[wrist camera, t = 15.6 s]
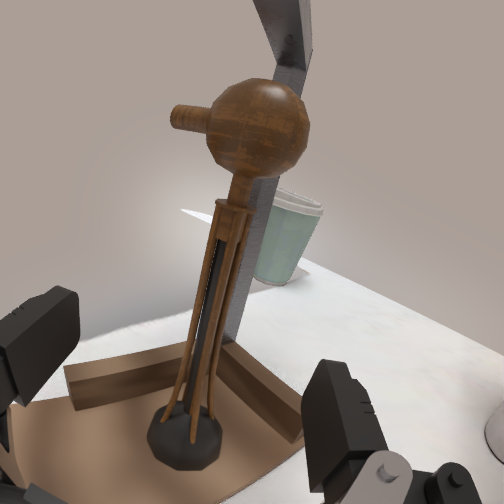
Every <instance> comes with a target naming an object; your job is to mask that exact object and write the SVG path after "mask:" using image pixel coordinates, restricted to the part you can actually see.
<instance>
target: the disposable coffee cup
mask: <svg viewBox="0 0 504 504" xmlns="http://www.w3.org/2000/svg"><path fill="white" fill-rule="evenodd" d="M321 206H322V205H321V204H319V203H318V202H316V201H314V200H311V199H309V198H307V197H304V196H301V195H299V194H296V193H294V192H291V191H288V190H285V189H282V188H279V187H277V189H276V193H275V196H274V200H273V204H272V208H271V211H270V215H269V219H268V223H267V226H266V230H265V234H264V237H263V241H262V245H261V248H260V252H259V256H258V259H257V263H256V267H255V271H254V274H253V277H254V278H255V279H256V280H258V281H260V282H262V283H265V284H268V285H273V286H283V285H284V284H285V283H286V282H287V281H288V280H289V279H290V277H291V275H292V273H293V271H294V269H295V267H296V265H297V263H298V261H299V259H300V258H301V255H302V254H303V251H304V249H305V247H306V245H307V243H308V241H309V239H310V237H311V235H312V233H313V231H314V229H315V227H316V225H317V223H318V221H319V219H320V217H321V216H322V214H323V208H322V207H321Z"/></svg>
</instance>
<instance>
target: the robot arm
mask: <svg viewBox="0 0 504 504" xmlns="http://www.w3.org/2000/svg"><path fill="white" fill-rule="evenodd" d="M79 338H80V317H79V298H78V294H77V293H76V292H74V291H71V290H68V289H66V288H63V287H60V286H55V287H53V288H52V289H50V290H49V291H48V292H46V293H45V294H43V295H39V296H36V297H33V298H30V299H28V300H27V301H25V302H24V303H23V304H21V305H20V306H19V308H16V309H15V310H13V311H12V313H11V314H10V313H9V314H8V315H7V316H5V317H4V318H3V319H1V320H0V504H68V503H66V502H65V501H63V500H61V499H59V498H57V497H55V496H54V495H52V494H50V493H48V492H47V491H45V490H43V489H42V488H40V487H38V486H37V485H35V484H33V483H32V482H31V483H30V485H29V487H28V489H26V485H25V482H24V479H23V476H22V474H21V471H20V469H19V467H18V465H17V461H16V457H15V449H14V441H13V430H12V415H11V408H10V406H9V405H10V404H11V403H12V402H13V400H14V401H15V402H17V403H18V404H20V405H21V406H23V407H25V408H26V407H27V405H28V404H29V403H30V401H31V400H32V399H33V398H34V396H35V395H36V394H37V393H38V391H39V390H40V389H41V388H42V387H43V385H44V384H45V383H46V382H47V380H48V379H49V378H50V377H51V376H52V374H53V373H54V372H55V371H56V370H57V369H58V367H59V366H60V365H61V364H62V363H63V362H64V360H65V359H66V358H67V357H68V356H69V355H70V353H71V352H72V351H73V350H74V349H75V348H76V346H77V344H78V342H79ZM374 413H375V411H374V409H373V406H372V405H371V401H370V398H369V396H368V393H367V391H366V389H365V388H364V387H363V386H362V385H361V384H360V383H359V381H358V380H357V379H352V378H351V375H350V372H349V370H348V367H347V365H346V363H345V362H339V361H332V360H326V359H322V360H321V361H320V362H319V363H318V365H317V367H316V369H315V371H314V373H313V376H312V378H311V380H310V382H309V384H308V386H307V388H306V389H305V391H304V394H303V396H302V400H301V418H302V426H303V434H304V442H305V451H306V459H307V468H308V477H309V487H310V493H324V499H325V500H324V501H323V502H322V503H321V504H482V502H481V500H480V497H479V494H478V492H477V489H476V487H475V484H474V482H473V480H472V477H471V475H470V473H469V472H468V470H467V469H466V468H464V467H463V466H462V465H460V464H458V463H453V462H449V463H445V464H443V465H442V466H441V467H440V468H439V469H438V470H437V471H436V472H435V473H430V472H423V471H417V470H412V469H411V466H410V464H409V463H408V461H407V460H406V459H405V458H404V457H402V456H401V455H399V454H398V453H395V452H392V451H389V449H388V447H387V444H386V441H385V438H384V435H383V433H382V430H381V427H380V425H379V422H378V419H377V417H376V415H374ZM485 433H486V438H487V442H488V444H489V446H490V448H491V449H492V451H493V453H494V454H495V455H496V456H497V457H498V458H499V459H500V460H501V461H502V462H503V463H504V402H503V403H502V405H501V406H500V407H499V409H498V410H497V411H496V412H495V414H494V415H493V416H492V417H491V419H490V420H489V421H488V423H487V425H486V429H485Z"/></svg>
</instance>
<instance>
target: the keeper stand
mask: <svg viewBox="0 0 504 504" xmlns="http://www.w3.org/2000/svg"><path fill="white" fill-rule="evenodd" d="M253 2H254V5H255V7H256V10H257V12H258V14H259V17H260V19H261V22H262V25H263V27H264V30H265V32H266V35H267V38H268V40H269V43H270V46H271V48H272V51H273V54H274V57H275V59H276V62H277V66H276V69H275V73H274V76H273V80H272V81H276V82H279V83H282V84H285V85H286V86H288V87H290V88H291V89H292V91H293V92H294V93H295V94H296V95H297V96H298V97H299V98H301V94H302V90H303V86H304V82H305V79H306V75H307V71H308V67H309V63H310V59H311V55H312V51H313V49H312V28H311V8H310V0H253ZM279 178H280V176H278V177H277V178H267V179H254V182H253V186H252V190H251V193H250V197H249V201H248V205H251V206H253V207H255V208H257V212H256V214H253V217H252V221H251V225H250V229H249V232H248V236H247V240H246V244H245V248H244V252H243V255H242V259H241V263H240V267H239V271H238V275H237V278H236V282H235V286H234V290H233V294H232V298H231V302H230V306H229V311H228V315H227V319H226V323H225V328H224V332H223V336H222V340H221V346H220V351H219V357H218V362H217V368H216V374H215V384H214V394H213V412H214V416H215V417H216V419H217V420H218V422H219V423H220V425H221V427H222V430H223V435H222V443H221V449H220V455H219V458H218V459H217V460H216V461H214V462H213V463H212V464H210V465H209V466H207V467H206V468H205V469H203V470H202V471H176V470H174V469H173V468H171V467H169V466H167V465H166V464H164V463H162V462H161V461H159V460H157V459H156V458H155V457H154V455H153V453H152V450H151V448H150V446H149V444H148V442H147V432H148V429H149V427H150V424H151V421H152V419H153V416H154V414H155V412H156V411H157V410H158V409H159V408H161V407H163V406H165V405H167V404H168V403H169V401H170V399H171V396H172V393H173V390H174V387H175V383H176V380H177V377H178V374H179V371H180V366H181V362H182V358H183V354H184V350H185V346H186V342H187V341H185V342H181V343H177V344H172V345H168V346H164V347H159V348H155V349H150V350H146V351H141V352H136V353H132V354H127V355H122V356H117V357H112V358H106V359H101V360H96V361H90V362H84V363H78V364H72V365H66V366H63V368H64V373H65V378H66V383H67V387H68V392H69V396H65V397H59V398H54V399H47V400H41V401H34V402H30V403H29V404H28V405H27V407H26V408H25V407H23V406H21V405H20V404H10V405H9V406H10V408H11V415H12V430H13V441H14V449H15V457H16V461H17V465H18V467H19V469H20V471H21V474H22V476H23V479H24V482H25V485H26V489H28V487H29V485H30V483H31V482H32V483H33V484H35V485H37V486H38V487H40V488H42V489H43V490H45V491H47V492H48V493H50V494H52V495H54V496H55V497H57V498H59V499H61V500H63V501H65V502H66V503H68V504H219V503H221V502H222V501H224V500H226V499H228V498H229V497H231V496H233V495H234V494H236V493H238V492H239V491H241V490H243V489H244V488H246V487H248V486H249V485H251V484H252V483H254V482H255V481H257V480H258V479H260V478H261V477H263V476H264V475H266V474H267V473H269V472H270V471H272V470H273V469H275V468H276V467H277V466H279V465H280V464H282V463H283V462H284V461H286V460H287V459H288V458H290V457H291V456H292V455H294V454H295V453H296V452H298V451H299V450H300V449H301V448H303V447H304V446H305V442H304V434H303V426H302V418H301V400H302V396H301V395H299V394H298V393H297V392H295V391H294V390H293V389H292V388H290V387H289V386H288V385H287V384H285V383H284V382H283V381H282V380H280V379H279V378H278V377H277V376H275V375H274V374H273V373H272V372H270V371H269V370H268V369H267V368H266V367H264V366H263V365H262V364H261V363H260V362H258V361H257V360H256V359H255V358H254V357H252V356H251V355H250V354H249V353H248V352H247V351H245V350H244V349H243V348H242V347H241V346H240V345H238V344H237V343H236V342H235V340H236V336H237V332H238V329H239V325H240V322H241V318H242V314H243V311H244V307H245V303H246V300H247V296H248V292H249V288H250V285H251V282H252V278H253V274H254V271H255V267H256V263H257V259H258V256H259V252H260V248H261V245H262V241H263V237H264V234H265V230H266V226H267V223H268V219H269V215H270V211H271V208H272V204H273V200H274V196H275V193H276V189H277V185H278V181H279ZM195 342H196V339H195V341H194V345H193V349H192V353H191V356H190V360H189V364H188V367H187V371H186V375H185V378H184V381H183V384H182V387H181V390H180V393H179V396H178V399H177V401H178V400H182V397H183V393H184V389H185V386H186V382H187V377H188V373H189V369H190V365H191V360H192V356H193V351H194V347H195ZM213 343H214V341H213ZM212 349H213V345H212ZM211 356H212V350H211V354H210V358H209V362H208V367H207V372H206V377H205V382H204V387H203V393H202V399H201V405H202V406H204V407H206V408H207V390H208V376H209V368H210V362H211Z"/></svg>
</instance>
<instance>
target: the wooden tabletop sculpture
mask: <svg viewBox="0 0 504 504" xmlns="http://www.w3.org/2000/svg"><path fill="white" fill-rule="evenodd" d="M170 122H171V125H172V127H173V128H175V129H181V130H186V131H193V132H198V133H204V134H206V140H207V141H206V142H207V146H208V148H209V150H210V152H211V154H212V155H213V158H214V159H215V162H216V163H217V164H218V165H220V166H222V167H223V168H225V169H226V170H228V171H230V172H231V173H233V178H232V182H231V186H230V190H229V194H228V199H217V200H216V201H215V204H216V207H215V212H214V216H213V220H212V225H211V229H210V233H209V238H208V242H207V247H206V252H205V256H204V261H203V266H202V271H201V275H200V280H199V285H198V291H197V295H196V300H195V304H194V309H193V314H192V319H191V323H190V328H189V333H188V338H187V342H186V346H185V350H184V354H183V358H182V362H181V366H180V371H179V374H178V377H177V380H176V383H175V387H174V390H173V393H172V396H171V399H170V401H169V403H168V404H167V405H165V406H163V407H161V408H159V409H158V410H157V411H156V412H155V414H154V416H153V419H152V421H151V424H150V427H149V429H148V432H147V442H148V444H149V446H150V448H151V450H152V453H153V455H154V457H155V458H156V459H157V460H159V461H161V462H162V463H164V464H166V465H167V466H169V467H171V468H173V469H174V470H176V471H202V470H203V469H205V468H206V467H207V466H209V465H210V464H212V463H213V462H214V461H216V460H217V459H218V458H219V455H220V449H221V443H222V435H223V430H222V427H221V425H220V423H219V422H218V420H217V419H216V417H215V416H214V412H213V394H214V384H215V374H216V368H217V362H218V357H219V351H220V346H221V340H222V336H223V332H224V328H225V323H226V319H227V315H228V311H229V306H230V302H231V298H232V294H233V290H234V286H235V282H236V278H237V275H238V271H239V267H240V263H241V259H242V255H243V252H244V248H245V244H246V240H247V236H248V232H249V229H250V225H251V221H252V217H253V214H256V212H257V208H255V207H253V206H251V205H248V201H249V197H250V193H251V190H252V186H253V182H254V179H267V178H277V177H278V176H280V175H281V174H283V173H284V172H286V171H287V170H289V169H291V168H292V167H294V166H295V165H296V163H297V161H298V160H299V158H300V157H301V155H302V153H303V152H304V151H305V149H306V148H307V143H308V136H309V130H310V122H309V119H308V115H307V112H306V108H305V105H304V102H303V101H302V100H301V99H300V98H299V97H298V96H297V95H296V94H295V93H294V92H293V91H292V89H291V88H290V87H288V86H286V85H285V84H282V83H279V82H276V81H272V80H267V79H260V78H251V79H248V80H245V81H242V82H240V83H237V84H235V85H233V86H230V87H228V88H227V89H226V90H225V91H224V92H223V93H222V94H221V95H220V96H219V97H218V98H217V99H216V100H215V101H214V102H213V105H212V107H211V108H206V107H205V108H204V107H197V106H188V105H177V106H175V107H174V108H173V110H172V112H171V116H170ZM217 239H218V240H217ZM216 243H217V244H216ZM215 247H216V249H215ZM214 252H215V253H214ZM213 256H214V257H213ZM212 261H213V262H212ZM211 265H212V266H211ZM210 270H211V271H210ZM209 274H210V275H209ZM208 279H209V280H208ZM207 283H208V285H207ZM206 288H207V289H206ZM205 293H206V294H205ZM204 297H205V299H204ZM203 301H204V303H203ZM202 306H203V308H202ZM201 310H202V313H201ZM200 315H201V318H200ZM199 319H200V323H199ZM198 323H199V328H198ZM197 328H198V333H197ZM196 333H197V338H196V342H195V347H194V351H193V356H192V360H191V365H190V369H189V373H188V377H187V382H186V386H185V389H184V393H183V397H182V400H178V401H177V399H178V396H179V393H180V390H181V387H182V384H183V381H184V378H185V375H186V371H187V367H188V364H189V360H190V356H191V353H192V349H193V345H194V341H195V337H196ZM213 341H214V343H213ZM212 345H213V349H212ZM211 350H212V356H211V362H210V368H209V376H208V390H207V408H206V407H204V406H202V405H201V399H202V393H203V387H204V382H205V377H206V372H207V367H208V362H209V358H210V354H211Z"/></svg>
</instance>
